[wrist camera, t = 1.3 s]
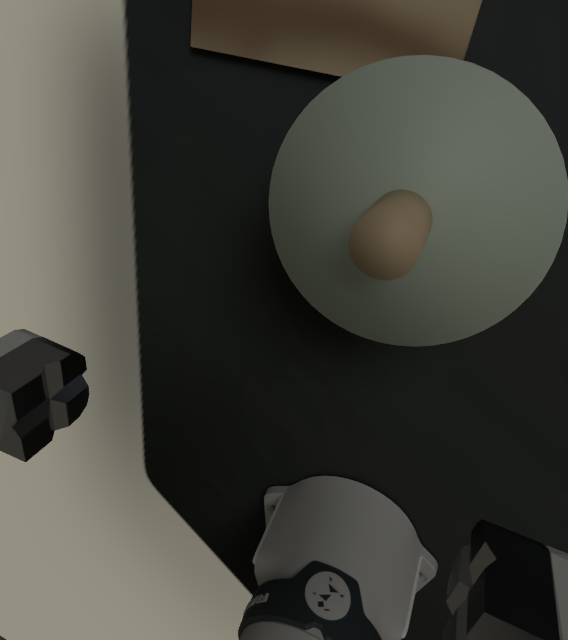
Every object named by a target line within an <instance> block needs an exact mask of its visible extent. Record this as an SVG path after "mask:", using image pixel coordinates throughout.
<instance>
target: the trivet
mask: <svg viewBox="0 0 568 640" xmlns="http://www.w3.org/2000/svg"><path fill="white" fill-rule="evenodd" d="M481 3H482V0H192V23H191V47H195V48H200V49H205V50H210V51H215V52H220V53H225V54H230V55H235V56H240V57H245V58H250V59H255V60H260V61H266V62H271V63H276V64H281V65H286V66H291V67H296V68H301V69H306V70H311V71H316V72H321V73H326V74H331V75H336V76H341V77H343V76H345V75H347V74H349V73H351V72H353V71H355V70H357V69H359V68H361V67H363V66H366V65H369V64H372V63H375V62H378V61H381V60H385V59H390V58H395V57H400V56H411V55H433V56H443V57H451V58H455V59H459V60H463V61H464V57H465V54H466V51H467V48H468V45H469V41H470V38H471V35H472V32H473V29H474V25H475V22H476V19H477V16H478V13H479V9H480V6H481Z"/></svg>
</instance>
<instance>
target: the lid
mask: <svg viewBox="0 0 568 640" xmlns="http://www.w3.org/2000/svg"><path fill="white" fill-rule="evenodd" d="M567 211H568V180H567V175H566V170H565V165H564V160H563V156H562V154H561V151H560V149H559V146H558V143H557V141H556V138H555V136H554V134H553V132H552V131H551V129H550V127H549V126H548V124H547V122H546V120H545V119H544V117H543V116H542V115H541V113H540V112H539V111H538V110H537V108H536V107H535V106H534V105H533V104H532V102H531V101H530V100H529V99H528V98H527V97H526V96H525V95H524V94H523V93H522V92H520V91H519V90H518V89H517V88H516V87H515V86H514V85H512V84H511V83H510V82H508V81H506V80H505V79H503V78H502V77H500V76H499V75H497V74H495V73H494V72H492V71H490V70H487V69H485V68H483V67H480V66H478V65H476V64H473V63H470V62H467V61H463V60H459V59H455V58H451V57H443V56H433V55H411V56H400V57H395V58H390V59H385V60H381V61H378V62H375V63H372V64H369V65H366V66H363V67H361V68H359V69H357V70H355V71H353V72H351V73H349V74H347V75H345V76H343V77H341V78H340V79H338V80H337V81H336V82H334V83H333V84H331V85H330V86H328V87H327V88H325V89H324V90H323V91H322V92H321V93H320V94H319V95H318V96H317V97H315V98H314V99H313V100H312V101H311V102H310V103H309V104H308V105H307V107H306V108H305V109H304V110H303V111H302V113H301V114H300V115H299V116H298V117H297V119H296V120H295V122H294V124H293V125H292V127H291V128H290V130H289V131H288V133H287V135H286V137H285V139H284V141H283V143H282V145H281V147H280V149H279V152H278V155H277V158H276V161H275V164H274V167H273V172H272V177H271V182H270V190H269V220H270V226H271V232H272V237H273V240H274V244H275V247H276V250H277V253H278V255H279V258H280V260H281V262H282V265H283V267H284V269H285V270H286V272H287V274H288V276H289V278H290V279H291V281H292V282H293V284H294V285H295V286H296V288H297V289H298V290H299V292H300V293H301V294H302V295H303V296H304V298H305V299H306V300H307V301H308V302H309V303H310V304H311V305H312V306H313V307H314V308H315V309H317V310H318V311H319V312H320V313H321V314H322V315H323V316H325V317H326V318H328V319H329V320H331V321H332V322H334V323H335V324H337V325H338V326H340V327H342V328H344V329H346V330H348V331H349V332H352V333H354V334H356V335H359V336H361V337H364V338H367V339H370V340H374V341H377V342H381V343H386V344H392V345H398V346H432V345H438V344H444V343H450V342H453V341H457V340H460V339H463V338H467V337H469V336H472V335H474V334H476V333H479V332H481V331H483V330H485V329H487V328H489V327H491V326H492V325H494V324H496V323H498V322H499V321H501V320H502V319H504V318H505V317H506V316H508V315H509V314H510V313H512V312H513V311H514V310H516V309H517V308H518V307H519V306H520V305H521V304H522V303H523V302H524V301H525V300H526V299H527V298H528V297H529V296H530V295H531V294H532V293H533V291H534V290H535V289H536V287H537V286H538V285H539V284H540V282H541V281H542V280H543V278H544V277H545V275H546V273H547V271H548V270H549V268H550V266H551V265H552V263H553V261H554V259H555V256H556V254H557V251H558V249H559V247H560V244H561V241H562V237H563V233H564V230H565V226H566V221H567Z"/></svg>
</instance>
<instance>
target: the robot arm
mask: <svg viewBox="0 0 568 640" xmlns="http://www.w3.org/2000/svg"><path fill="white" fill-rule="evenodd" d="M86 370H87V368H86V361H85V357H84V356H83V355H81V354H79V353H78V352H75V351H73V350H71V349H69V348H66V347H64V346H62V345H59V344H58V343H55V342H53V341H51V340H48V339H46V338H44V337H41V336H39V335H37V334H34V333H32V332H30V331H27V330H25V329H21V330H14V331H12V332H10V333H8V334H7V335H5V336H3V337H1V338H0V451H2V452H5V453H7V454H9V455H11V456H13V457H16V458H18V459H20V460H22V461H24V462H27V461H28V460H29V459H30V458H31V457H33V456H34V455H35V454H36V453H38V452H39V451H40V450H41V449H42V448H43V447H45V446H46V445H47V444H48V443H49V442H51V441H52V438H53V435H54V431H55V430H57V429H61V428H65V427H68V426H70V425H71V424H72V423H73V422H74V421H75V420H76V419H77V418H79V416H80V415H81V413H82V412H83V410H84V409H85V407H86V405H87V402H88V397H89V387H88V384H87V383H86V381H85V379H84V378H83V376H82V374H83V373H84V372H85V371H86ZM264 507H265V520H266V530H265V532H264V534H263V537H262V539H261V541H260V543H259V546H258V548H257V550H256V552H255V555H254V557H253V564H254V565H255V569H254V572H255V577H256V580H257V583H258V588H257V589H256V590H255V592H254V595H253V597H252V599H251V601H250V602H249V603H248V605H247V607H246V609H245V612H244V614H243V615H244V616H243V619H242V622H241V624H240V627H239V630H238V637H239V640H401V638H404V637H405V636H406V633H407V630H408V626H409V621H410V616H411V611H412V606H413V602H414V597H415V593H416V592H418V591H419V590H420V589H421V588H422V587H423V586H424V585H426V584H427V583H428V582H429V581H430V580H431V579H432V578H434V576H435V575H436V572H437V568H438V564H437V562H436V560H435V559H434V557H433V556H432V555H431V554H430V553H429V552H428V551H427V550H426V549H425V548H424V547H423V546H422V545H421V543H420V541H419V539H418V537H417V534H416V532H415V529H414V527H413V525H412V524H411V522H410V520H409V519H408V517H407V516H406V515H405V514H404V512H403V511H402V510H401V509H400V508H399V507H398V506H397V505H396V504H395V503H393V502H392V501H391V500H390V499H388V498H387V497H386V496H384V495H383V494H381V493H380V492H378V491H376V490H374V489H372V488H371V487H369V486H366V485H364V484H362V483H359V482H356V481H353V480H350V479H346V478H341V477H335V476H316V477H310V478H307V479H304V480H302V481H300V482H297V483H295V484H293V485H290V486H273V487H269V488H268V489H267V491H266V493H265V496H264ZM446 602H447V604H448V606H449V608H450V611H451V613H452V617H451V618H450V620H449V621H448V623H447V624H446V626H445V627H444V633H443V640H568V554H567V553H564V552H562V551H559V550H557V549H554V548H552V547H549V546H547V545H543V544H542V543H540V542H538V541H535V540H533V539H530V538H528V537H525V536H523V535H520V534H518V533H515V532H513V531H510V530H508V529H505V528H503V527H500V526H498V525H495V524H493V523H490V522H488V521H485V520H483V519H482V520H480V521H479V522H478V523H477V524H476V525H475V527H474V528H473V530H472V532H471V545H469V546H465V547H462V548H461V550H460V552H459V553H458V555H457V557H456V559H455V562H454V565H453V567H452V570H451V573H450V578H449V583H448V590H447V599H446ZM0 640H6V639H4V638H3V637H1V636H0Z"/></svg>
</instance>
